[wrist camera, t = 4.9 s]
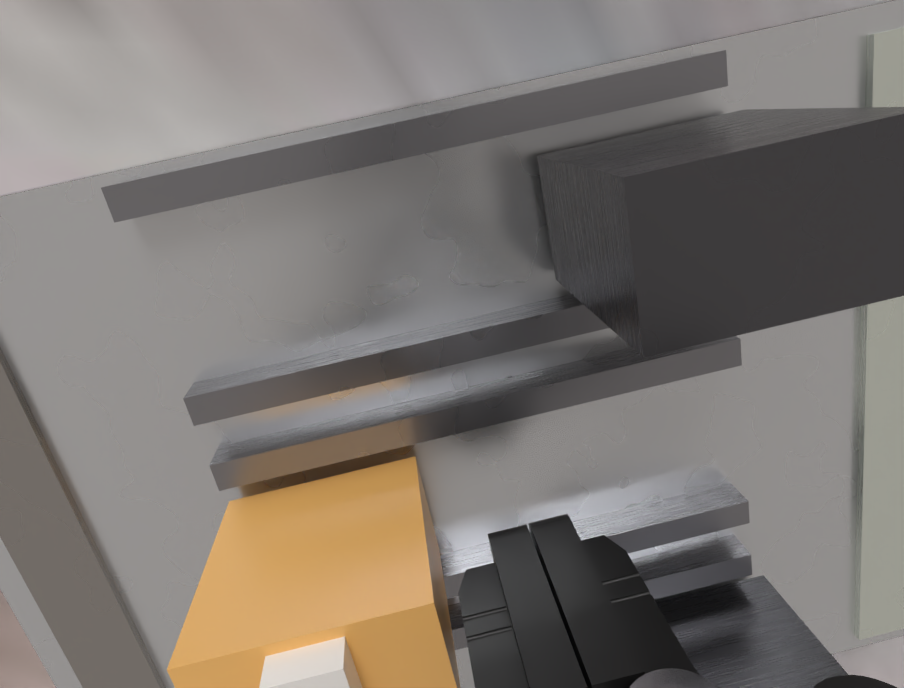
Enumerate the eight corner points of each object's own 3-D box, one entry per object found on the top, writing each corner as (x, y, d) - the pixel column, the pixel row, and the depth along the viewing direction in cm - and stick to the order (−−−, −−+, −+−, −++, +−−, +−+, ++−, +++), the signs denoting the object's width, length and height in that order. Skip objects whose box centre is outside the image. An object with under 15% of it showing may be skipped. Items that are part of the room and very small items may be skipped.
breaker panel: (-118, 222, 13) (-573, 322, 7) (901, -2, 14) (1339, -98, 8) (162, 762, 19) (55, 1095, 12) (879, 578, 20) (1123, 801, 13)
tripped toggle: (229, 501, 14) (153, 704, 9) (415, 456, 14) (437, 632, 9) (264, 590, 14) (211, 820, 10) (439, 547, 15) (471, 753, 10)
